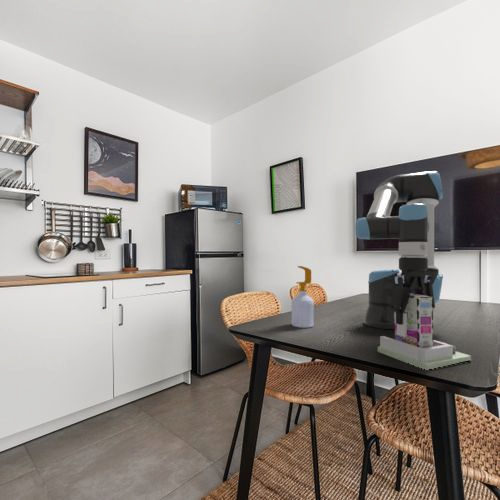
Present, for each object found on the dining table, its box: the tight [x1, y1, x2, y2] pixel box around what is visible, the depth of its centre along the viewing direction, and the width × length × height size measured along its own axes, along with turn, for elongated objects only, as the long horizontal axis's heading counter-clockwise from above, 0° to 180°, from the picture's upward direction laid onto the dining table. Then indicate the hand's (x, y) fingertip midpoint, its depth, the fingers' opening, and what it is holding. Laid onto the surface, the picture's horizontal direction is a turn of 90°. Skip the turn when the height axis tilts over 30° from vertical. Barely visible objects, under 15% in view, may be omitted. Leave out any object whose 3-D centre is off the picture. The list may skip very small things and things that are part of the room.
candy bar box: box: [394, 293, 434, 348], centre depth 89 cm, size 11×5×16 cm, turn 8°
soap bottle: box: [291, 265, 315, 329], centre depth 125 cm, size 9×9×25 cm
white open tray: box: [377, 335, 472, 371], centre depth 88 cm, size 18×16×4 cm
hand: (412, 333), depth 89 cm, fingers open, 8 cm apart
